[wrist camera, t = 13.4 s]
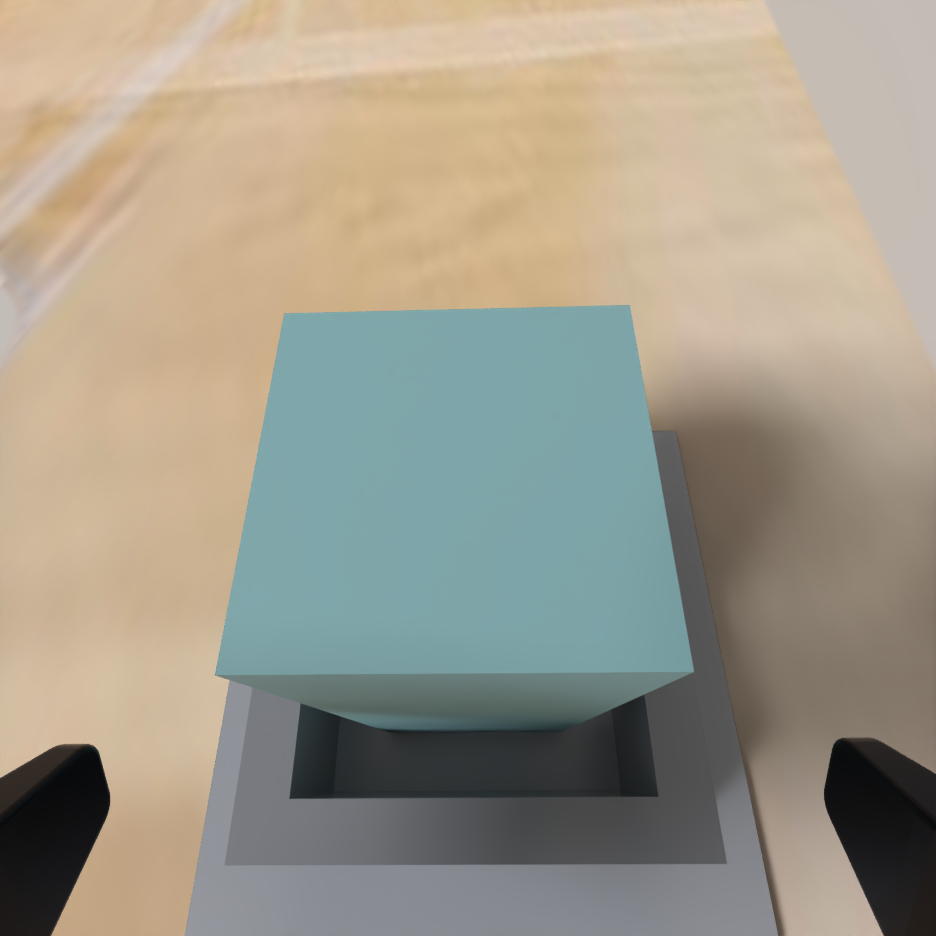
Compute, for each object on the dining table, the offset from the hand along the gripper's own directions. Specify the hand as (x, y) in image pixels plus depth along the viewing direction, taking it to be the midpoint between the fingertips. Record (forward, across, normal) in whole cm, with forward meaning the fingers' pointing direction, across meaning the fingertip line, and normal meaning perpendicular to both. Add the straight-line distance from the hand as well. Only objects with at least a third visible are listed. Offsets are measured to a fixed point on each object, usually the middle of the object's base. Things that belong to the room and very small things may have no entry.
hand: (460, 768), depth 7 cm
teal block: (+10, 0, +5) cm, 11 cm away
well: (+10, 0, +5) cm, 11 cm away
